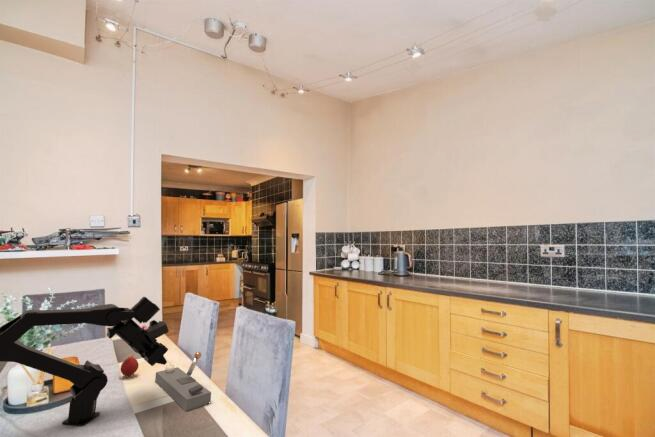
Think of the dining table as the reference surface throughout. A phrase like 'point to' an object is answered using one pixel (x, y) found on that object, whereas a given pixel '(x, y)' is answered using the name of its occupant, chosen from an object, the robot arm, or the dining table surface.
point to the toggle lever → (194, 363)
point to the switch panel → (182, 389)
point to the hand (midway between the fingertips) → (165, 363)
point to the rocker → (195, 389)
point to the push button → (169, 369)
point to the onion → (129, 366)
